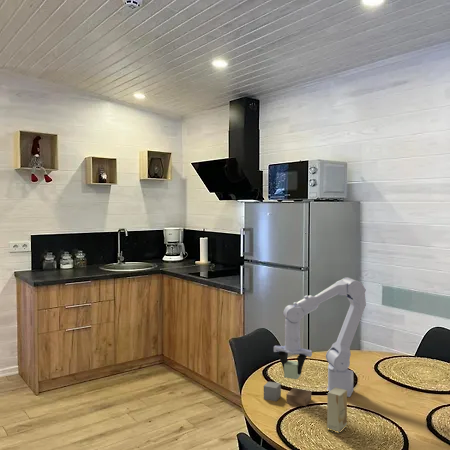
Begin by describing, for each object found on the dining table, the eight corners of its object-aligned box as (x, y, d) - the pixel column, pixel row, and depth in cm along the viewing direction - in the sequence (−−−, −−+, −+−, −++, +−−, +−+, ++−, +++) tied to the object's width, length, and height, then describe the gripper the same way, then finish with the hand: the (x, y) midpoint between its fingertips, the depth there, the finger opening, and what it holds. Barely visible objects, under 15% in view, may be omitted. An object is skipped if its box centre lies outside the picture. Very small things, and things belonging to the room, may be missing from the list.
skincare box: (339, 434, 143) (339, 396, 143) (326, 430, 146) (326, 392, 146) (347, 426, 149) (347, 389, 148) (334, 422, 151) (335, 386, 151)
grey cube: (280, 396, 173) (280, 383, 173) (276, 401, 168) (276, 388, 168) (268, 394, 175) (268, 381, 175) (263, 399, 170) (263, 386, 170)
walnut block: (311, 400, 169) (311, 391, 169) (304, 407, 163) (304, 398, 163) (293, 396, 173) (293, 387, 173) (286, 403, 167) (286, 394, 167)
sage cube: (300, 375, 175) (300, 362, 175) (296, 379, 171) (296, 366, 171) (288, 373, 178) (288, 360, 178) (284, 377, 173) (284, 364, 173)
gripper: (270, 337, 173) (270, 372, 174) (308, 342, 167) (308, 379, 167) (277, 333, 180) (277, 367, 180) (313, 337, 173) (313, 372, 174)
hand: (292, 372), depth 174 cm, fingers closed on sage cube, 5 cm apart
